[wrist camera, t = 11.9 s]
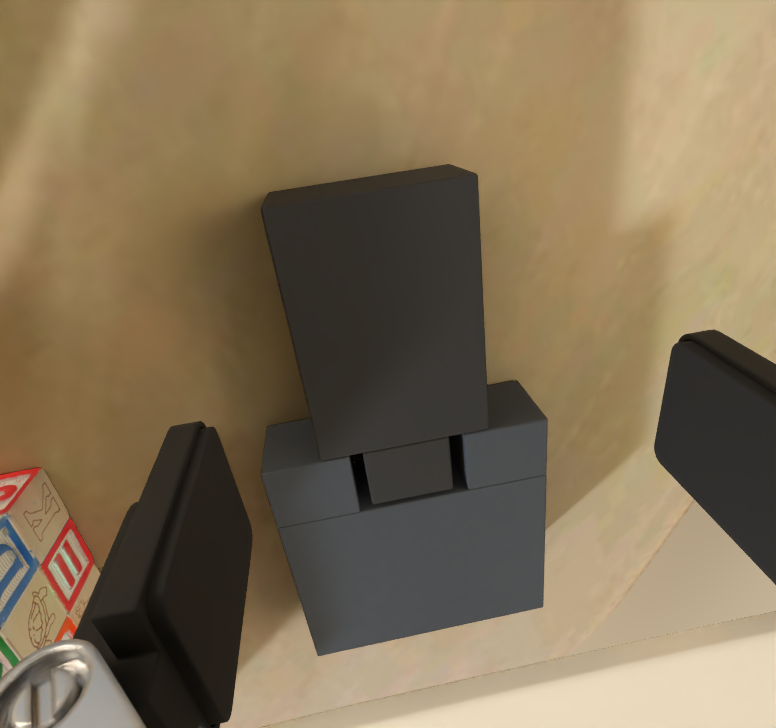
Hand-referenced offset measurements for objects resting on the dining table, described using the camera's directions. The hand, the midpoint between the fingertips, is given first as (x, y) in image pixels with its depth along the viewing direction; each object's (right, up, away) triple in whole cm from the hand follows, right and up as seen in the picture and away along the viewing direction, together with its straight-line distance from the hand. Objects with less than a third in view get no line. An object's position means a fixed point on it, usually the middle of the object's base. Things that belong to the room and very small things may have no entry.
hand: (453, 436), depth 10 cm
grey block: (0, -6, +16) cm, 17 cm away
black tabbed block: (-2, +3, +12) cm, 12 cm away
